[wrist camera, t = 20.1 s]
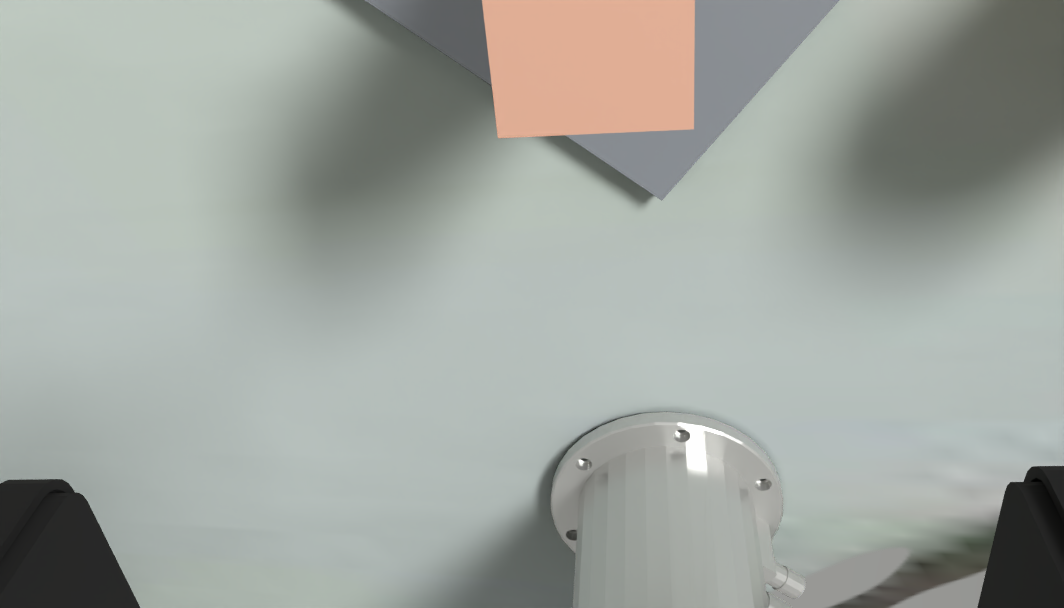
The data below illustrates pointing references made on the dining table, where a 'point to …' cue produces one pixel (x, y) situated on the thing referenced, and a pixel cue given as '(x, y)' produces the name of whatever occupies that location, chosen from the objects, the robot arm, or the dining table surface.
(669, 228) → the dining table surface
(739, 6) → the baseplate
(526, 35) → the terracotta block
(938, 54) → the dining table surface
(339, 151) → the dining table surface
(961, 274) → the dining table surface
